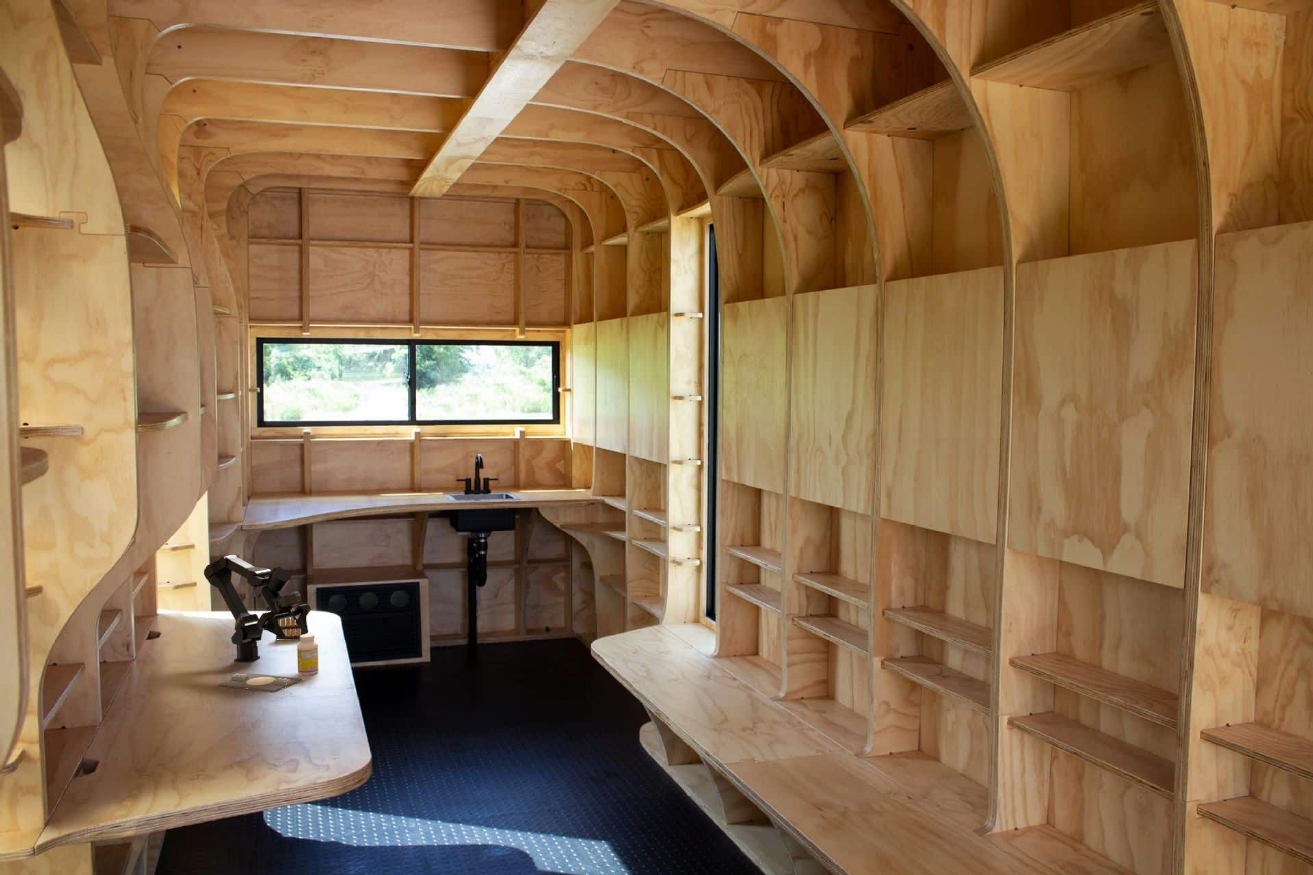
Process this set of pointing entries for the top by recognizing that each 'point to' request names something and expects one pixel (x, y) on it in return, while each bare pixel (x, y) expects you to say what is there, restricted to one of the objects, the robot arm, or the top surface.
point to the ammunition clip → (290, 629)
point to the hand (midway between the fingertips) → (296, 635)
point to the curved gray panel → (260, 682)
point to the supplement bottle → (307, 655)
